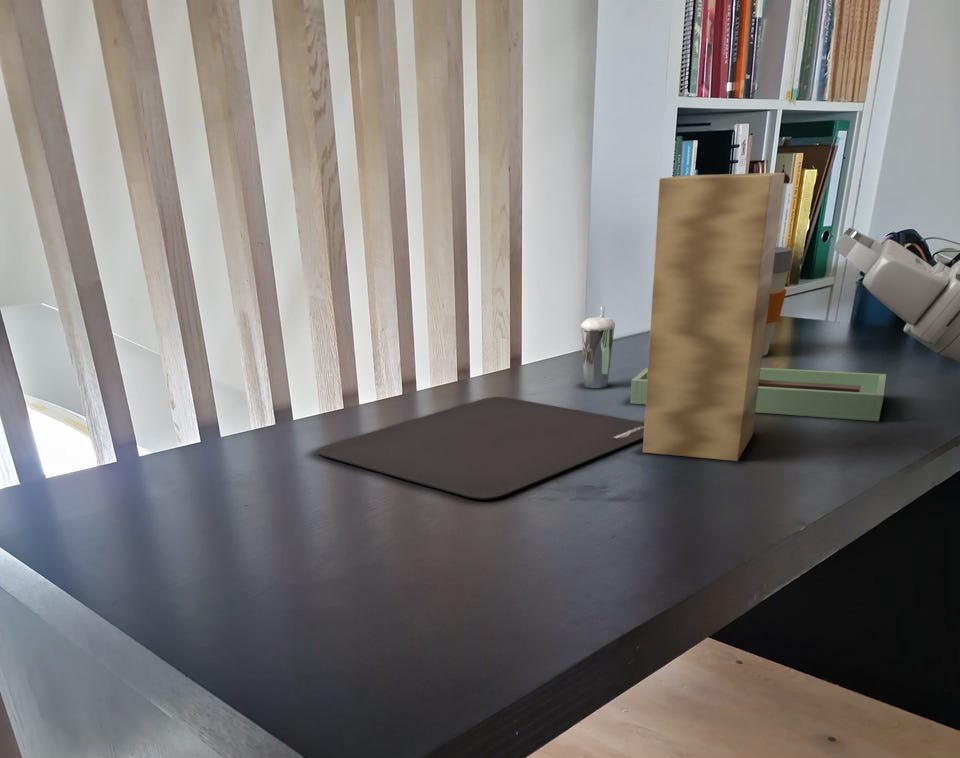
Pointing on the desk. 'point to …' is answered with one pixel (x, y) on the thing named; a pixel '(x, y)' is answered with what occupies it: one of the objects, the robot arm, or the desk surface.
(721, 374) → the stand
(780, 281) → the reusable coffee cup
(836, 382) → the tray
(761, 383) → the stick
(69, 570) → the desk surface
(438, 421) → the mouse pad
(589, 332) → the milkshake
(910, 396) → the desk surface
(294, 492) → the desk surface
